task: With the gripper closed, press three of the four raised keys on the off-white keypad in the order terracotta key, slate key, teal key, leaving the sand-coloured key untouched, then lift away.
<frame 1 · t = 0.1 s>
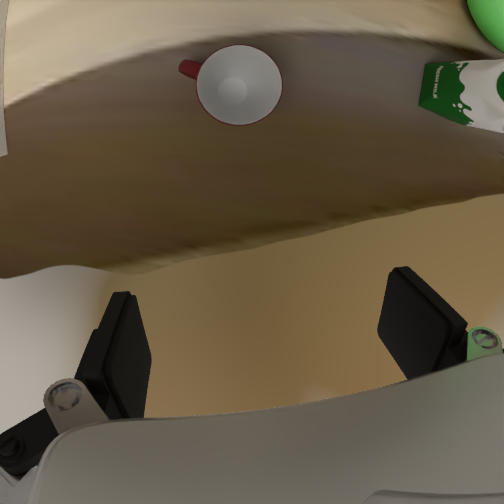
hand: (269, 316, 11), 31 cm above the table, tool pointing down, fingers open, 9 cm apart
mug: (222, 88, 35), on the table
milk carton: (438, 92, 38), on the table
toy bird: (484, 15, 32), on the table
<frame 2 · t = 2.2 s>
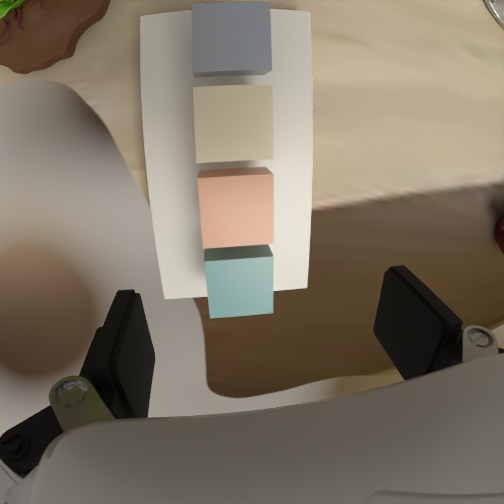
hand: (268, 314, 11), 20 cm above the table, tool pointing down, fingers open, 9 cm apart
keypad base: (228, 152, 28), on the table
key C: (233, 200, 25), point 6 cm above the table, slide at 0.0 cm
mug: (498, 226, 36), on the table
key A: (228, 44, 20), point 6 cm above the table, slide at 0.0 cm
key D: (237, 270, 27), point 6 cm above the table, slide at 0.0 cm
key B: (231, 121, 22), point 6 cm above the table, slide at 0.0 cm
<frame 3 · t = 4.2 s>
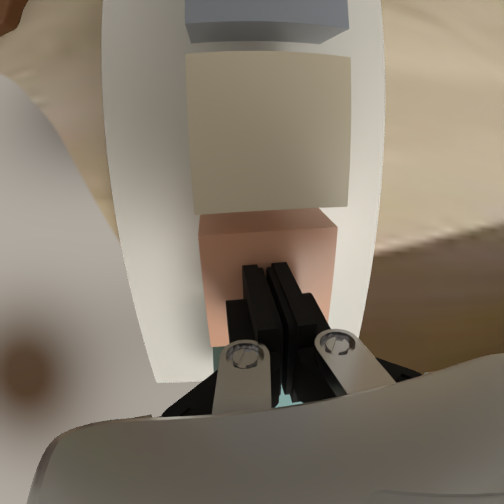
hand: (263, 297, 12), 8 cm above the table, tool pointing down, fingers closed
keypad base: (246, 173, 18), on the table
key C: (259, 258, 15), point 5 cm above the table, slide at 0.7 cm, touching gripper
key D: (262, 362, 17), point 6 cm above the table, slide at 0.0 cm
key B: (259, 126, 12), point 6 cm above the table, slide at 0.0 cm
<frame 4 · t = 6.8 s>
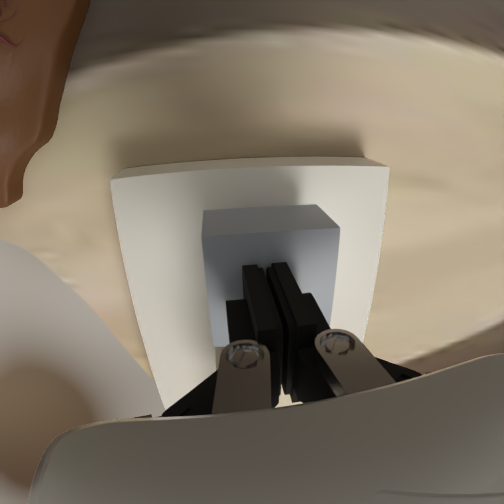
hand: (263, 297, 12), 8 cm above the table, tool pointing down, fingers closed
keypad base: (254, 343, 23), on the table
key A: (262, 258, 15), point 4 cm above the table, slide at 1.2 cm, touching gripper
key B: (266, 369, 16), point 6 cm above the table, slide at 0.0 cm
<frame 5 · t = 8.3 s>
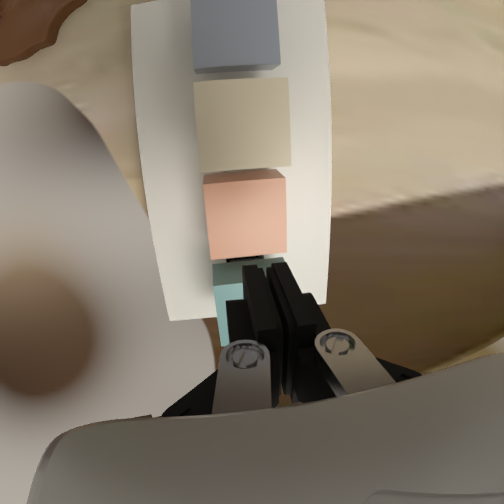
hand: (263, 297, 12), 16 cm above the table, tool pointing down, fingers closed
keypad base: (235, 156, 25), on the table
key C: (242, 206, 23), point 4 cm above the table, slide at 1.6 cm
key A: (232, 37, 18), point 4 cm above the table, slide at 1.6 cm
key D: (249, 290, 24), point 6 cm above the table, slide at 0.0 cm
key B: (239, 122, 19), point 6 cm above the table, slide at 0.0 cm
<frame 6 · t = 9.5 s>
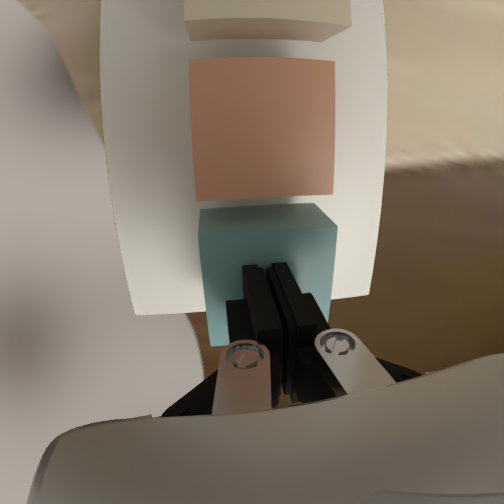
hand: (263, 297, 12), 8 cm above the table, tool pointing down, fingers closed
keypad base: (243, 69, 15), on the table
key C: (254, 123, 13), point 4 cm above the table, slide at 1.6 cm
key D: (259, 257, 15), point 5 cm above the table, slide at 1.0 cm, touching gripper
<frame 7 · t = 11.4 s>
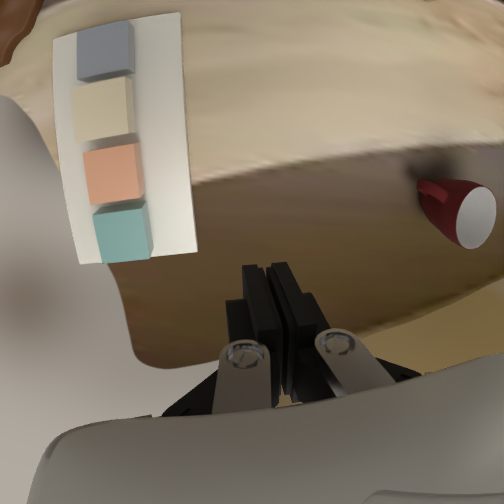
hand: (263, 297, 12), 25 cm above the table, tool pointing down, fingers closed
keypad base: (124, 138, 32), on the table
key C: (118, 170, 29), point 4 cm above the table, slide at 1.6 cm
mug: (423, 193, 40), on the table
key A: (110, 54, 25), point 4 cm above the table, slide at 1.6 cm
key D: (127, 227, 32), point 4 cm above the table, slide at 1.6 cm
key B: (108, 110, 25), point 6 cm above the table, slide at 0.0 cm
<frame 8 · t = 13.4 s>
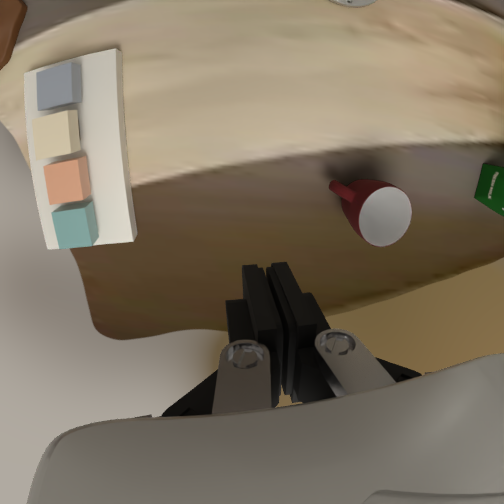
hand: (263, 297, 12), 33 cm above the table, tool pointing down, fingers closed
keypad base: (80, 151, 38), on the table
key C: (71, 177, 36), point 4 cm above the table, slide at 1.6 cm
mug: (347, 193, 46), on the table
key A: (63, 87, 31), point 4 cm above the table, slide at 1.6 cm
milk carton: (488, 184, 49), on the table
key D: (79, 221, 39), point 4 cm above the table, slide at 1.6 cm
key B: (61, 133, 32), point 6 cm above the table, slide at 0.0 cm
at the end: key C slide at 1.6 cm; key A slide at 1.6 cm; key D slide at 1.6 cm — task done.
